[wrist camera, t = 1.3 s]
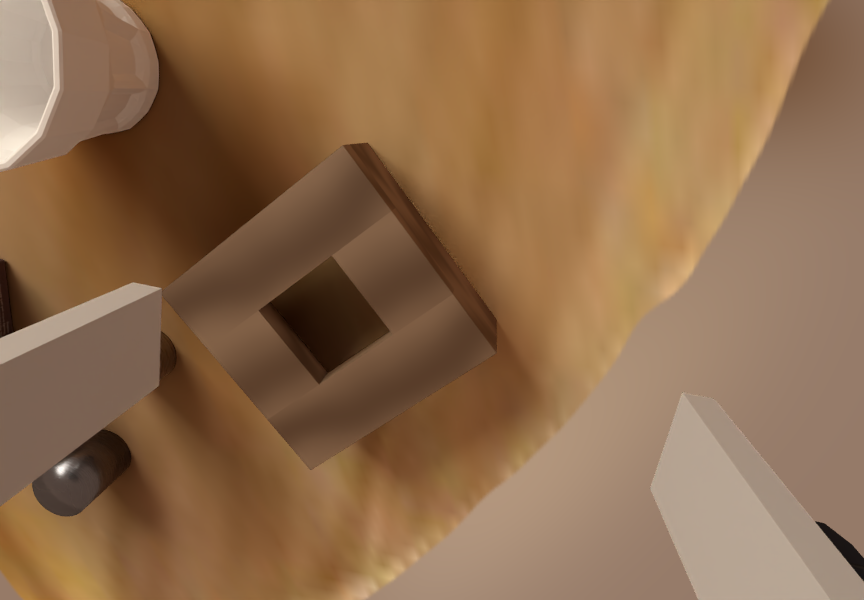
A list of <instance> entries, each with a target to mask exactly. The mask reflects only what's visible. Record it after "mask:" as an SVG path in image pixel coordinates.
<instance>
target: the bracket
mask: <svg viewBox="0 0 864 600" xmlns="http://www.w3.org/2000/svg"><path fill="white" fill-rule="evenodd" d="M331 256H332V257H333V258H334V259H335V260H336V262H337V263H338V264H339V266H340V267H341V268H342V270H343V271H344V272H345V273H346V275H347V276H348V277H349V279H350V280H351V281H352V282H353V284H354V285H355V286H356V288H357V289H358V290H359V291H360V293H361V294H362V295H363V297H364V298H365V299H366V301H367V302H368V303H369V304H370V306H371V307H372V308H373V310H374V311H375V312H376V313H377V315H378V316H379V317H380V319H381V320H382V321H383V322H384V324H385V325H386V326H387V328H388V329H389V330H390V331H389V332H388V333H386V334H385V335H383V336H382V337H380V338H379V339H378V340H376V341H375V342H373V343H372V344H370V345H369V346H367V347H366V348H364V349H363V350H361V351H360V352H358V353H357V354H355V355H354V356H353V357H351V358H350V359H348V360H347V361H345V362H344V363H342V364H341V365H339V366H338V367H336V368H335V369H333V370H332V371H330V372H329V373H327V371H326V370H325V369H324V368H323V366H322V365H321V364H320V363H319V362H318V360H317V359H316V358H315V357H314V355H313V354H312V353H311V352H310V350H309V349H308V348H307V347H306V345H305V344H304V343H303V342H302V341H301V339H300V338H299V337H298V336H297V334H296V333H295V332H294V331H293V329H292V328H291V327H290V326H289V325H288V323H287V322H286V321H285V320H284V318H283V317H282V316H281V315H280V313H279V312H278V311H277V310H276V309H275V307H274V306H273V305H272V304H271V302H270V301H272V300H273V299H274V298H276V297H277V296H278V295H280V294H281V293H282V292H284V291H285V290H286V289H288V288H289V287H291V286H292V285H293V284H295V283H296V282H297V281H299V280H300V279H301V278H303V277H304V276H305V275H307V274H308V273H309V272H311V271H312V270H313V269H315V268H316V267H317V266H319V265H320V264H321V263H323V262H324V261H325V260H327V259H328V258H329V257H331ZM162 296H163V297H164V299H165V300H166V301H167V302H168V303H169V304H170V306H171V307H172V308H173V309H174V310H175V311H176V313H177V314H178V315H179V316H180V317H181V319H182V320H183V321H184V322H185V323H186V324H187V326H188V327H189V328H190V329H191V330H192V331H193V333H194V334H195V335H196V336H197V337H198V338H199V340H200V341H201V342H202V343H203V344H204V346H205V347H206V348H207V349H208V350H209V351H210V353H211V354H212V355H213V356H214V357H215V358H216V360H217V361H218V362H219V363H220V364H221V366H222V367H223V368H224V369H225V370H226V371H227V373H228V374H229V375H230V376H231V377H232V378H233V380H234V381H235V382H236V383H237V384H238V386H239V387H240V388H241V389H242V390H243V391H244V393H245V394H246V395H247V396H248V397H249V398H250V400H251V401H252V402H253V403H254V404H255V406H256V407H257V408H258V409H259V410H260V411H261V413H262V414H263V415H264V416H265V417H266V418H267V420H268V421H269V422H270V423H271V424H272V426H273V427H274V428H275V429H276V430H277V431H278V433H279V434H280V435H281V436H282V437H283V438H284V440H285V441H286V442H287V443H288V444H289V446H290V447H291V448H292V449H293V450H294V451H295V453H296V454H297V455H298V456H299V457H300V458H301V460H302V461H303V462H304V463H305V464H306V466H307V467H308V468H309V469H310V470H312V469H314V468H315V467H317V466H318V465H320V464H321V463H323V462H325V461H326V460H328V459H329V458H331V457H333V456H334V455H336V454H337V453H339V452H341V451H342V450H344V449H345V448H347V447H349V446H350V445H352V444H353V443H355V442H356V441H358V440H360V439H361V438H363V437H364V436H366V435H368V434H369V433H371V432H372V431H374V430H376V429H377V428H379V427H380V426H382V425H383V424H385V423H387V422H388V421H390V420H391V419H393V418H395V417H396V416H398V415H399V414H401V413H403V412H404V411H406V410H407V409H409V408H410V407H412V406H414V405H415V404H417V403H418V402H420V401H422V400H423V399H425V398H426V397H428V396H430V395H431V394H433V393H434V392H436V391H437V390H439V389H441V388H442V387H444V386H445V385H447V384H449V383H450V382H452V381H453V380H455V379H457V378H458V377H460V376H461V375H463V374H465V373H466V372H468V371H469V370H471V369H472V368H474V367H476V366H477V365H479V364H480V363H482V362H484V361H485V360H487V359H488V358H490V357H492V356H493V355H495V354H496V353H497V345H496V318H495V317H494V315H493V314H492V313H491V311H490V310H489V309H488V307H487V306H486V305H485V303H484V302H483V300H482V299H481V298H480V296H479V295H478V294H477V292H476V291H475V289H474V288H473V287H472V285H471V284H470V283H469V281H468V280H467V279H466V277H465V276H464V274H463V273H462V272H461V270H460V269H459V268H458V266H457V265H456V263H455V262H454V261H453V259H452V258H451V257H450V255H449V254H448V252H447V251H446V250H445V248H444V247H443V246H442V244H441V243H440V242H439V240H438V239H437V237H436V236H435V235H434V233H433V232H432V231H431V229H430V228H429V226H428V225H427V224H426V222H425V221H424V220H423V218H422V217H421V216H420V214H419V213H418V211H417V210H416V209H415V207H414V206H413V205H412V203H411V202H410V200H409V199H408V198H407V196H406V195H405V194H404V192H403V191H402V190H401V188H400V187H399V185H398V184H397V183H396V181H395V180H394V179H393V177H392V176H391V174H390V173H389V172H388V170H387V169H386V168H385V166H384V165H383V163H382V162H381V161H380V159H379V158H378V157H377V155H376V154H375V153H374V151H373V150H372V148H371V147H370V146H369V144H368V143H360V144H350V145H342V146H341V147H340V148H339V149H337V150H336V151H335V152H334V153H333V154H331V155H330V156H329V157H328V158H326V159H325V160H324V161H323V162H321V163H320V164H319V165H318V166H316V167H315V168H314V169H313V170H311V171H310V172H309V173H308V174H306V175H305V176H304V177H303V178H302V179H300V180H299V181H298V182H297V183H295V184H294V185H293V186H292V187H290V188H289V189H288V190H287V191H285V192H284V193H283V194H282V195H280V196H279V197H278V198H277V199H275V200H274V201H273V202H272V203H271V204H269V205H268V206H267V207H266V208H264V209H263V210H262V211H261V212H259V213H258V214H257V215H256V216H254V217H253V218H252V219H251V220H249V221H248V222H247V223H246V224H244V225H243V226H242V227H241V228H240V229H238V230H237V231H236V232H235V233H233V234H232V235H231V236H230V237H228V238H227V239H226V240H225V241H223V242H222V243H221V244H220V245H218V246H217V247H216V248H215V249H213V250H212V251H211V252H210V253H208V254H207V255H206V256H205V257H204V258H202V259H201V260H200V261H199V262H197V263H196V264H195V265H194V266H192V267H191V268H190V269H189V270H187V271H186V272H185V273H184V274H182V275H181V276H180V277H179V278H177V279H176V280H175V281H174V282H173V283H171V284H170V285H169V286H168V287H166V288H165V289H164V290H163V291H162Z"/></svg>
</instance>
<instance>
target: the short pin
mask: <svg viewBox="0 0 864 600" xmlns="http://www.w3.org/2000/svg"><path fill="white" fill-rule="evenodd" d="M130 462H131V453H130V450H129V448H128V446H127V444H126V443H125V441H124V440H123V439H122V438H121V437H119V436H118V435H116V434H115V433H113V432H110V431H107V430H100V431H99V432H98V433H96V434H95V435H94V436H92V437H91V438H90V439H88V440H87V441H86V442H84V443H83V444H82V445H80V446H79V447H78V448H76V449H75V450H74V451H73V452H71V453H70V454H69V455H67V456H66V457H65V458H63V459H62V460H61V461H59V462H58V463H57V464H55V465H54V466H53V467H51V468H50V469H49V470H47V471H46V472H45V473H44V474H42V475H41V476H40V477H38V478H37V479H36V480H34V481H33V482H32V487H33V492H34V495H35V497H36V498H37V500H38V501H39V503H40V504H41V505H42V506H43V507H44V508H46V509H47V510H48V511H50V512H52V513H54V514H57V515H60V516H74V515H77V514H78V513H80V512H81V511H82V510H83V509H85V508H86V507H87V506H88V505H89V504H90V503H91V502H92V501H93V500H94V499H95V498H96V497H98V496H99V495H100V494H101V493H102V492H103V491H104V490H105V489H106V488H107V487H108V486H109V485H111V484H112V483H113V482H114V481H115V480H116V479H117V478H118V477H119V476H120V475H121V474H122V473H123V472H125V471H126V470H127V468H128V467H129V465H130Z"/></svg>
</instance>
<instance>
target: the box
mask: <svg viewBox="0 0 864 600" xmlns="http://www.w3.org/2000/svg"><path fill="white" fill-rule="evenodd" d="M11 333H13V328H12V319H11V311H10V304H9V296H8V287H7V280H6V271H5V261H4V260H3V259H0V338H2V337H4V336H7V335H9V334H11Z"/></svg>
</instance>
